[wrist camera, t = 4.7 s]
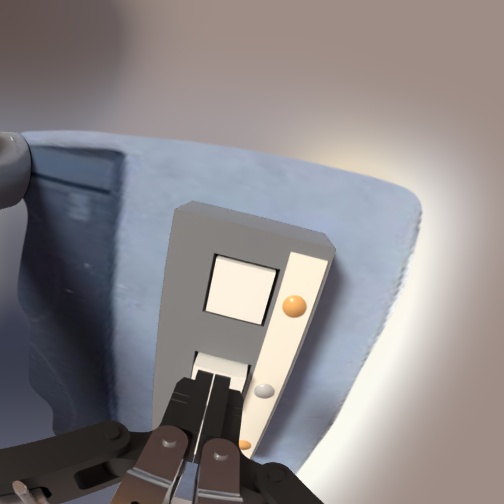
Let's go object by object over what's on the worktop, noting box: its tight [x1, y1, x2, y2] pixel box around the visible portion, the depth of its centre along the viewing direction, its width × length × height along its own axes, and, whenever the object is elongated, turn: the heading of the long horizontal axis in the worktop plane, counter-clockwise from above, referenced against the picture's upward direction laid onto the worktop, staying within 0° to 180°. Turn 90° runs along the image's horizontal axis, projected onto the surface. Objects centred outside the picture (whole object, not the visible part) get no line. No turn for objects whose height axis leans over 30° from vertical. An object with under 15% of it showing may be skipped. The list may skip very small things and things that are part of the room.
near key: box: [206, 254, 276, 324], centre depth 24 cm, size 4×4×3 cm
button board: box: [152, 201, 336, 460], centre depth 27 cm, size 28×12×5 cm, turn 166°
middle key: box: [191, 352, 248, 405], centre depth 25 cm, size 4×4×3 cm
